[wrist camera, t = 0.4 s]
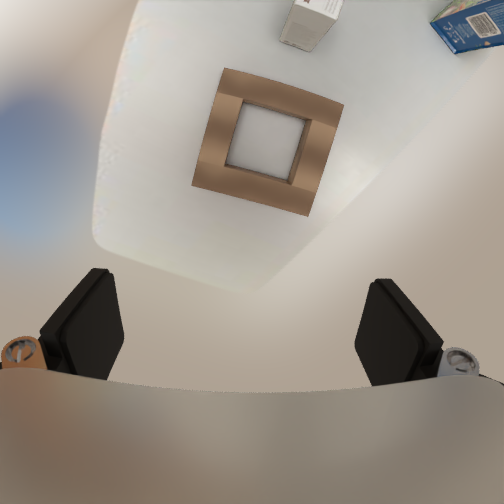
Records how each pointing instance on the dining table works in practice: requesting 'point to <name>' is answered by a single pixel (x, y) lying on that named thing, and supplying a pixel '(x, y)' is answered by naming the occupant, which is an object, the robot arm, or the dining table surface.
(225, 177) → the wooden square frame
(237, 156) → the dining table surface
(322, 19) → the skincare box
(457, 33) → the blue food package
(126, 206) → the dining table surface
